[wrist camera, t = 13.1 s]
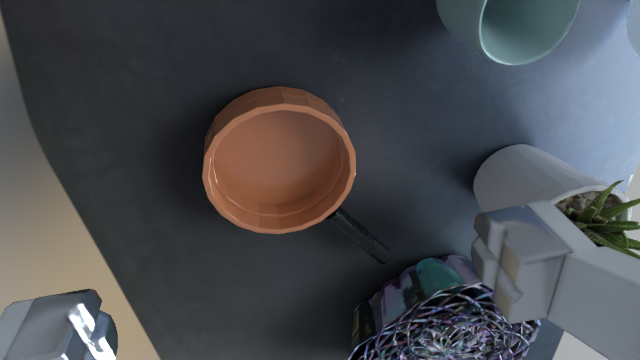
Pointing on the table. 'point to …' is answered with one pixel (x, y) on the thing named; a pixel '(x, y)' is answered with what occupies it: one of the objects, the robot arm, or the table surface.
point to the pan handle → (359, 235)
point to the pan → (277, 160)
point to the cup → (509, 26)
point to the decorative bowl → (437, 318)
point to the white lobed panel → (634, 24)
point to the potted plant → (557, 194)
